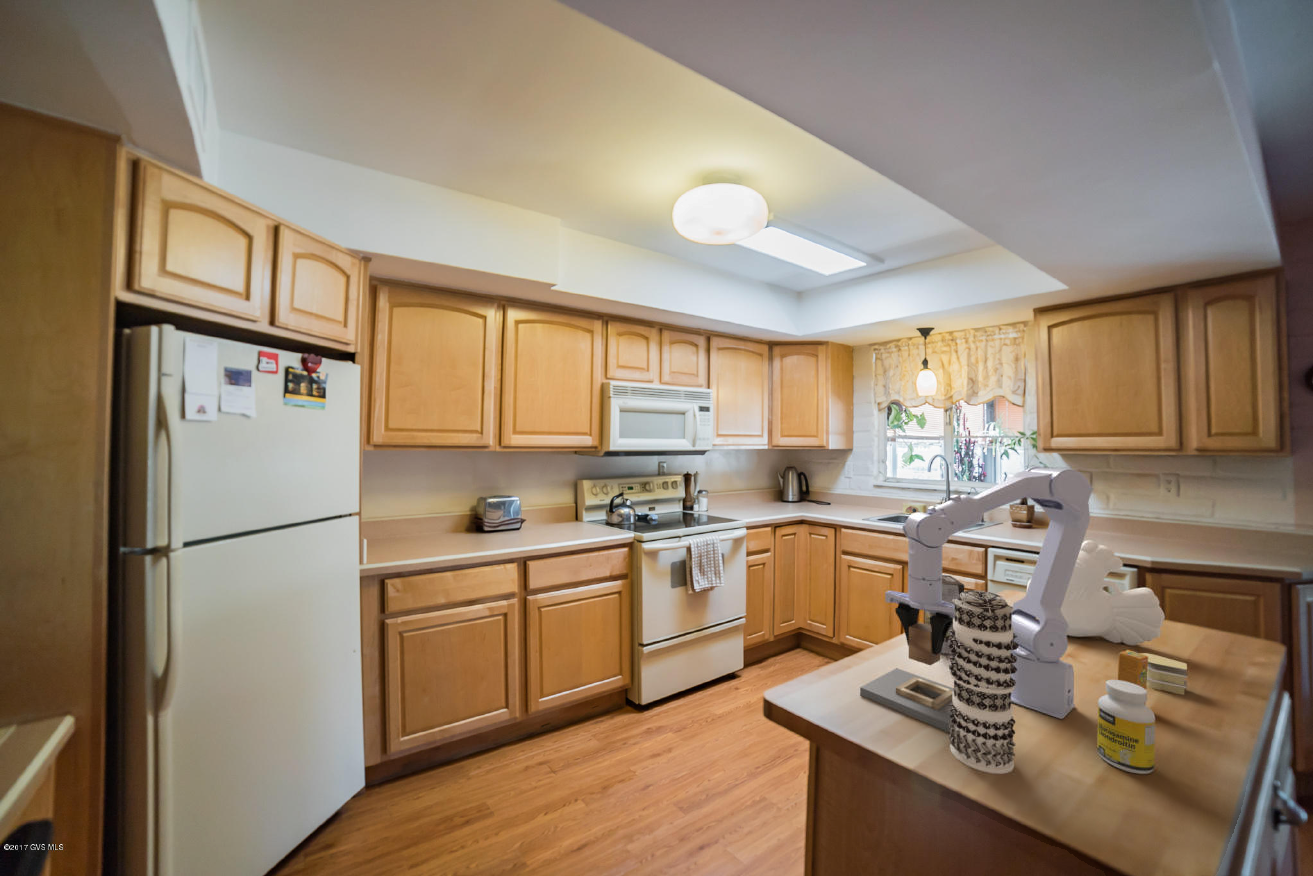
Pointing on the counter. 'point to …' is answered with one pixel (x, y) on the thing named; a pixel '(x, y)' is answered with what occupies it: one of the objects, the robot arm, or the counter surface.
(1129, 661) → the supplement box
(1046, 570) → the robot arm
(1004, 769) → the decorative candle
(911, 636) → the walnut block
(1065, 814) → the counter surface
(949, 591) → the coffee box
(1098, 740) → the pill bottle
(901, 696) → the plate
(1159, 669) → the cream layered block
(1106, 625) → the decorative rooster
